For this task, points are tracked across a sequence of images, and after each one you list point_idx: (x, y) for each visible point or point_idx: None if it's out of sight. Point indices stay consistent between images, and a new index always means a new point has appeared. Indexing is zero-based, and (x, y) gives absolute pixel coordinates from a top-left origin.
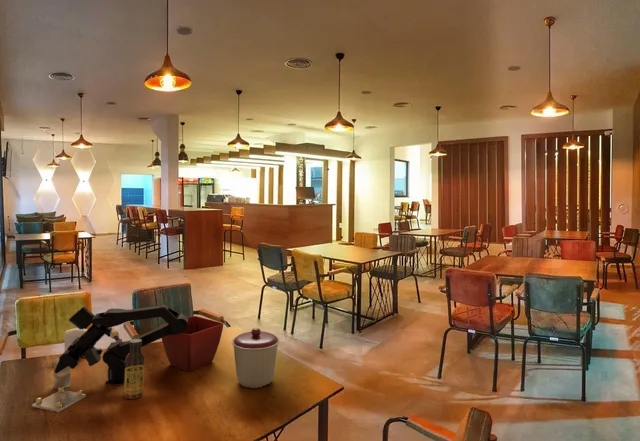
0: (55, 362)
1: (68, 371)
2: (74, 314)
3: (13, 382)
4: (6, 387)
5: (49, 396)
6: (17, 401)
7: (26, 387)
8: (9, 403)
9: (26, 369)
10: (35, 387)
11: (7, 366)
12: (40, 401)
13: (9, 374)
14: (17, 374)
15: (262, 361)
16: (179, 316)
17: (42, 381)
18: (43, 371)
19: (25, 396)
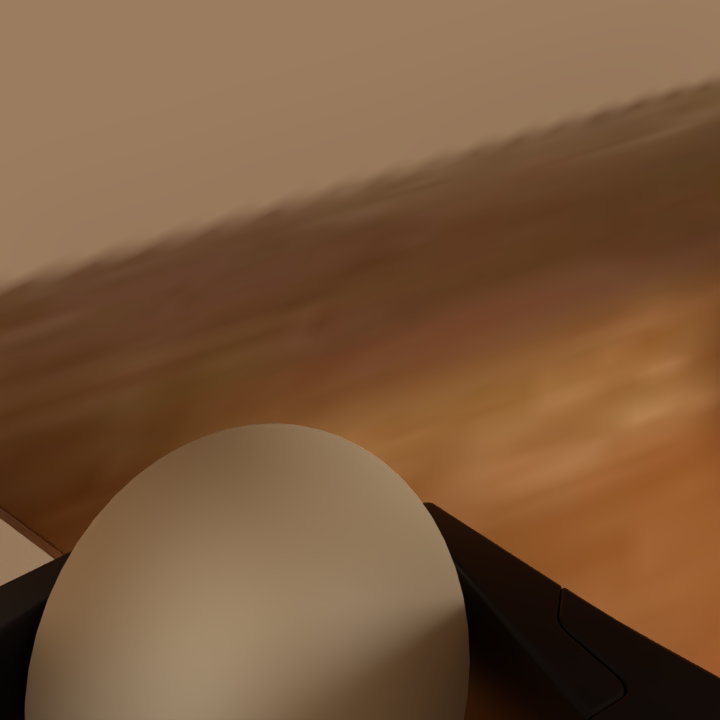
0: (118, 504)
1: None
2: None
3: (461, 187)
4: (386, 178)
5: (17, 554)
6: (113, 310)
7: (360, 284)
8: (102, 274)
9: (677, 185)
10: (345, 344)
11: (705, 89)
12: None
13: (589, 131)
14: (591, 167)
15: None
16: None
17: (458, 355)
18: (657, 296)
19: (186, 332)
